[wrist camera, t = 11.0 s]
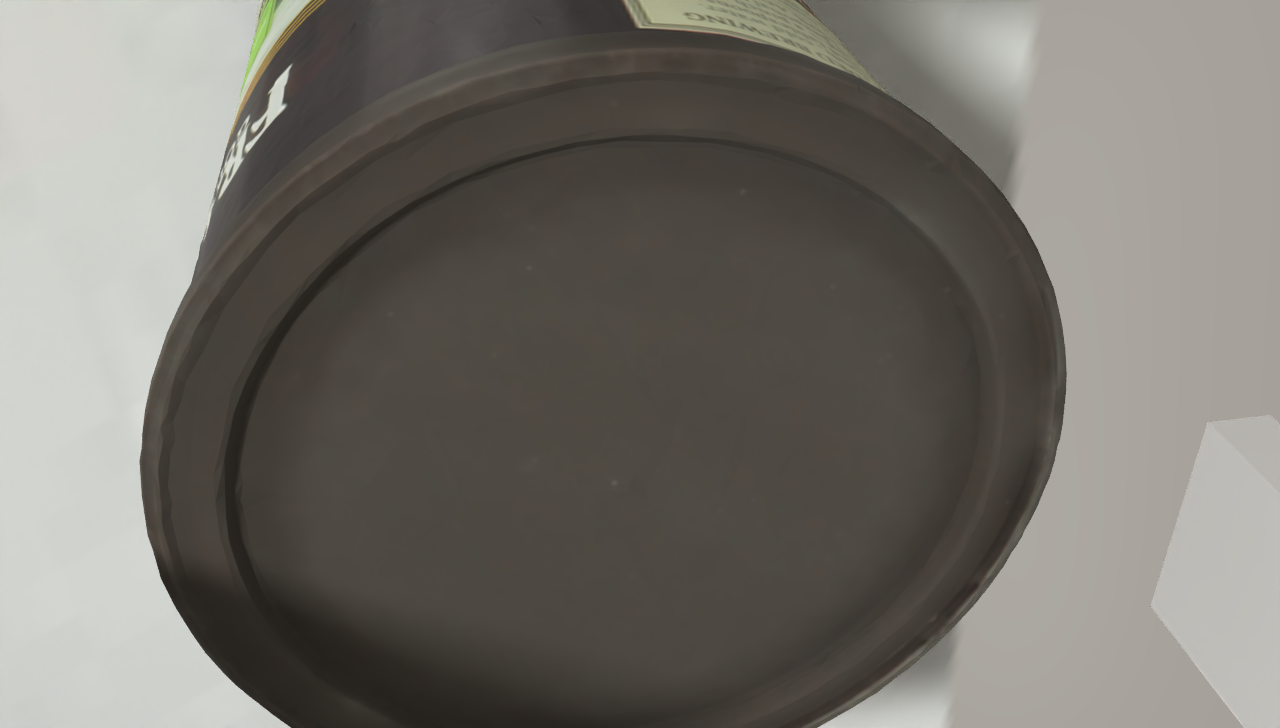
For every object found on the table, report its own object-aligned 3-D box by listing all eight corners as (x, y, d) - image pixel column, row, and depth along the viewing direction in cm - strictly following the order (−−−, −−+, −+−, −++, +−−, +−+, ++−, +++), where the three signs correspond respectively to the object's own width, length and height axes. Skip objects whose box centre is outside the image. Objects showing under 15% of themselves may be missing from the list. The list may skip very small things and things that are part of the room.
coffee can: (264, 279, 27) (175, 831, 15) (244, -237, 21) (79, 9, 10) (717, 291, 29) (940, 780, 17) (802, -174, 24) (1210, 88, 12)
